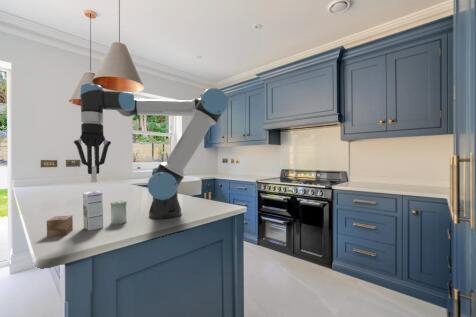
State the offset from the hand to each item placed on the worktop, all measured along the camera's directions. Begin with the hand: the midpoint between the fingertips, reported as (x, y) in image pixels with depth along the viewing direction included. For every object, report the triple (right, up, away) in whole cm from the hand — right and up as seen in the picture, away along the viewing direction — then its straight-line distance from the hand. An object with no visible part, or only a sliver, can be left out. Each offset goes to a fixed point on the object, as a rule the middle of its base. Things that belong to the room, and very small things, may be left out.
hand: (93, 182), depth 94 cm
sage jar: (+6, -19, +8) cm, 21 cm away
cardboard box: (-8, -19, -7) cm, 22 cm away
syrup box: (0, -19, 0) cm, 19 cm away
